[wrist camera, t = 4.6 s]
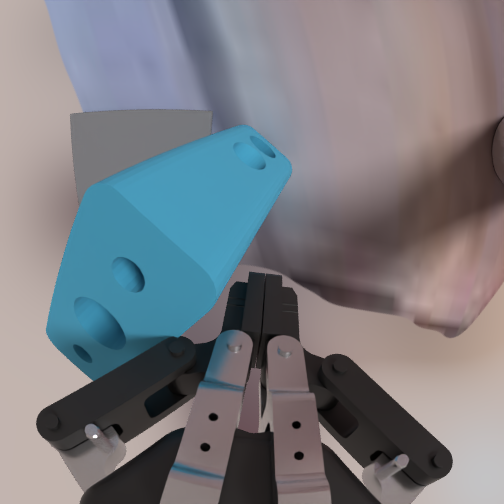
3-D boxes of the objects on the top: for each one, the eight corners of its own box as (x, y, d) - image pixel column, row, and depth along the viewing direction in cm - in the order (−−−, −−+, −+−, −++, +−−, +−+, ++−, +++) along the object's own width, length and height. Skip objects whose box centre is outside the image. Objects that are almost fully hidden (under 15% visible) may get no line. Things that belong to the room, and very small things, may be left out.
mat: (212, 111, 25) (211, 111, 25) (206, 226, 32) (206, 227, 31) (72, 113, 26) (70, 114, 25) (81, 211, 32) (80, 212, 32)
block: (225, 236, 31) (110, 394, 14) (189, 204, 30) (44, 335, 13) (307, 152, 25) (230, 292, 8) (264, 113, 24) (94, 168, 7)
